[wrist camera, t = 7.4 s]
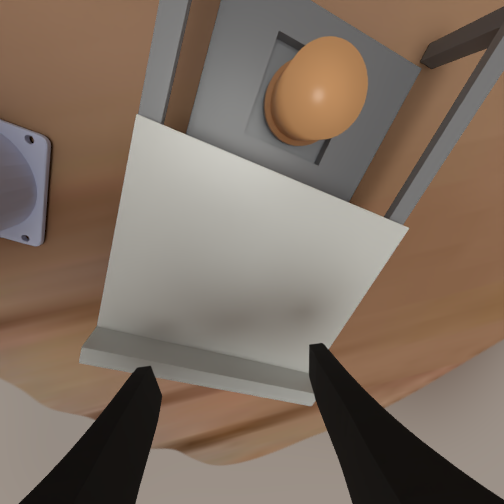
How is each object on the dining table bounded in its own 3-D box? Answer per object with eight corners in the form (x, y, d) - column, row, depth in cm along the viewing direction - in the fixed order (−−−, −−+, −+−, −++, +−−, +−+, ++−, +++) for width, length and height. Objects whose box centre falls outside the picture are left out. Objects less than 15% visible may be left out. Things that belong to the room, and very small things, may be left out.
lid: (98, 335, 15) (79, 363, 13) (140, 115, 10) (120, 108, 9) (302, 379, 18) (311, 406, 16) (403, 225, 14) (431, 238, 12)
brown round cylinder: (252, 129, 16) (260, 123, 11) (279, 49, 14) (303, 4, 10) (312, 156, 17) (343, 160, 12) (345, 83, 15) (393, 57, 11)
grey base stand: (128, 293, 21) (95, 342, 16) (218, -95, 12) (210, -268, 7) (283, 333, 24) (298, 384, 19) (441, 51, 15) (546, 5, 10)
